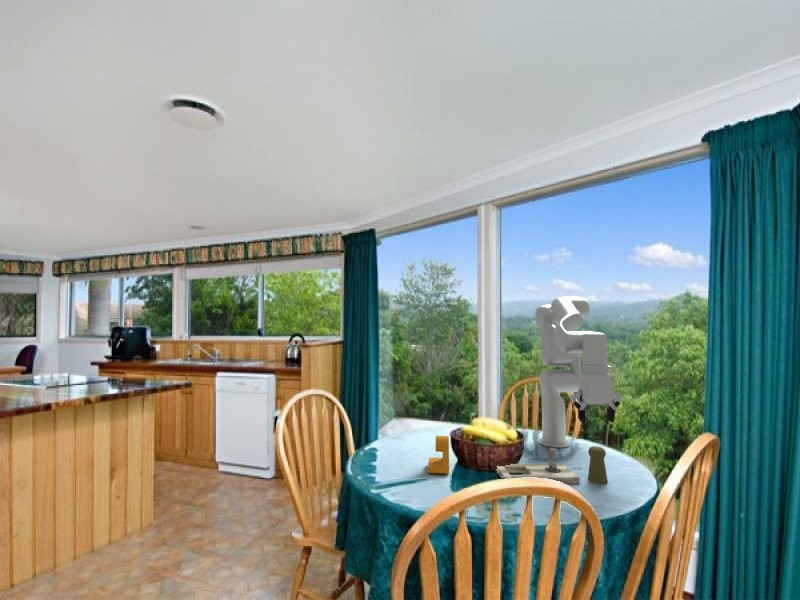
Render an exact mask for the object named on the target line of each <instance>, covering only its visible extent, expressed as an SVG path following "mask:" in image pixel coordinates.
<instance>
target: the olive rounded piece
mask: <svg viewBox="0 0 800 600" xmlns="http://www.w3.org/2000/svg"><path fill="white" fill-rule="evenodd" d="M587 450H588V452H587V453H588V455H589V466H588V474H587V482H589V483H592V484H595V485H607V484H608V483H609V482H608V475H607V470H606V463H605V457H606V455H607V454H606V450H605V449H604V448H603V447H601V446H597V445H595V446H589V448H588V449H587Z"/></svg>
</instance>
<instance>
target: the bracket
mask: <svg viewBox="0 0 800 600" xmlns="http://www.w3.org/2000/svg"><path fill="white" fill-rule="evenodd" d="M436 452H437V453H439V452H440V453H442V457H429V458H428V464H427V473H429V474H450V437H449V435H435V453H436Z"/></svg>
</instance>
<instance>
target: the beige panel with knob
mask: <svg viewBox="0 0 800 600" xmlns="http://www.w3.org/2000/svg"><path fill="white" fill-rule="evenodd" d="M509 464H510V465H505V466H497V469H496V470H495V472H496V471H497V472H496V473H497V474H498V476H499V477H500V478H501V479H502V478H511V477H538V478H548V479H553V480H556V481H560V482H563V483H566V484H565V485H574V484H576V485H578V484H581V480H580V476H578V475H577V474H576V473H575V472H573V470H571V469H570V468H568V467H567V466H565V465H564V464H563V463H561V462H560V463H559V462H557V448H554V447H549V448H548V463H546V462H545V463H509ZM523 473H524V474H523Z"/></svg>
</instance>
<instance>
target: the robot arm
mask: <svg viewBox="0 0 800 600" xmlns="http://www.w3.org/2000/svg"><path fill="white" fill-rule="evenodd" d="M590 309H591V308H590V304H589V302H588V300H587V299H586V298H584V297H580V296H561V297H556V298H555V299H553V300H552V301H551V303H550V304H549V303H548V304H542V305H539V306H538V307H536V310H535V314H534V315H535V316H534V319H535V323H536V327H537V330H538V332H539V337H540V354H541V355H540V356H541V361H542V364H543V365H544V366H546V367H552V368H553V367H555V368H556V367H558V368H559V367H560V368H561V367H562V368H564V367H566V368H567V369H546V370H543V371H541V372H540V373H539V376H538V383H539V387H540V394H541V427H542V429H541V430H542V433H541V435H542V437H540V438H539V439H538V443H539V444H540V445H542V446H544V447H549V448H554V449H557V448H558V449H559V448H560V449H561V448H568V447H570V445H571V442H570V441H569V440H567V434H566V433H567V432H566V429H567V428H566V427H567V426H566V423H567V422H566V403H565V400H564V398H563V397H562V396H561V395H560V393H573V394H571V395H569V399H570V402H572V405H573V406H574V407H576V410H577V419H578V421H579V422H581V423H583V424H584V423H586V410H585V408H586V407H587V405H593V406H594V405H595V406H596V405H606V406H607V407H608V408H607V409H606V420H607V421H608V422H611V423H615V419H616V415H615V414H616V409H617V408H618V406H620V404H621V401H622V399H623V396H622V395H620V394H618V393H617V392H615V391H613V384H612V379H611V375H610V374H609V371H612V366H611V365H610V366H609V365H608V344H607V335H606V334H605V333H602V332H596V331H578V330H579V329H580V328H581V327H582V326H583V322H584V321H583V320H584V319H586V318H587V317H588V315H589V313H590V311H591V310H590ZM555 325H556V326H555ZM581 354H582V357H581ZM581 358H582V361H581ZM614 398H615V399H614ZM577 399H578V401H577Z"/></svg>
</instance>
